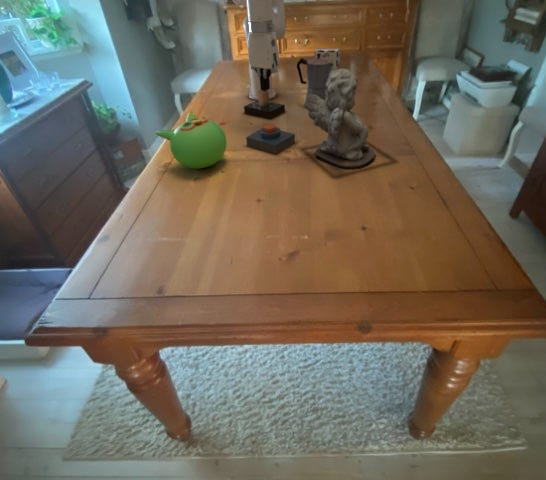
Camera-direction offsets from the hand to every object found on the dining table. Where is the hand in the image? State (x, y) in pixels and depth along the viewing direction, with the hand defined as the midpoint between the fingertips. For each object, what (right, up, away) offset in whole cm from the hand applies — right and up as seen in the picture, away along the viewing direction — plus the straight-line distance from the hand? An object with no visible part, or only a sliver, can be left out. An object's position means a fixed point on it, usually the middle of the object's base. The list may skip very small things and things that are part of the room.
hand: (265, 89), depth 122 cm
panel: (-2, +2, +24) cm, 24 cm away
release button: (+2, -16, -3) cm, 16 cm away
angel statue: (+27, -26, -8) cm, 39 cm away
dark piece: (+2, -19, 0) cm, 19 cm away
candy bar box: (+27, +24, +46) cm, 59 cm away
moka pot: (+20, +7, +28) cm, 35 cm away
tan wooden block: (-2, +5, +22) cm, 23 cm away
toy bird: (-20, -29, -9) cm, 37 cm away
